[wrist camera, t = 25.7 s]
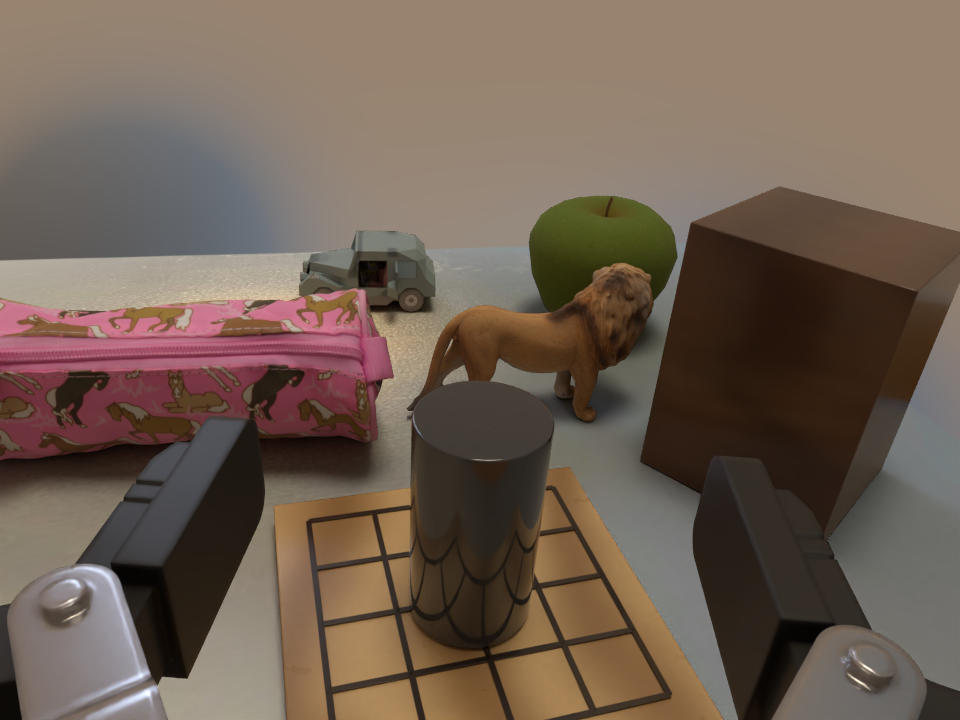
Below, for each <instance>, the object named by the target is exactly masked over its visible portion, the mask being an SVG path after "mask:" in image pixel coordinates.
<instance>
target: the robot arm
mask: <svg viewBox="0 0 960 720" xmlns="http://www.w3.org/2000/svg"><path fill="white" fill-rule="evenodd" d="M264 498H265V486H264V477H263V469H262V460H261V452H260V443H259V435H258V428H257V424H256V422H255V420H254V419H249V418H236V417H223V416H209V417H208V418H207V419H206V420H205V421H204V423H203V424H202V426H201V427H200V429H199V430H198V432H197V433H196V435H195V436H194V438H193V439H192V441H191V442H190V443H188V442H175V443H174V444H172V445H171V446H169V447H168V448H166V449H165V450H163V451H162V452H161V453H159V454H158V455H156V456H155V457H153V458H152V459H151V460H150V461H149V463H148V464H147V466H146V467H145V468H144V470H143V471H142V472H141V474H140V475H139V477H138V478H137V479H136V484H133V485H132V486H131V488H130V489H129V490H128V492H127V493H126V495H125V496H124V500H123V502H120V503H119V504H118V506H117V507H116V508H115V510H114V511H113V513H112V514H111V515H110V517H109V518H108V519H107V521H106V522H105V524H104V525H103V526H102V528H101V529H100V530H99V532H98V533H97V535H96V536H95V537H94V539H93V540H92V542H91V543H90V544H89V546H88V547H87V548H86V550H85V551H84V553H83V554H82V555H81V557H80V558H79V559H78V561H77V562H76V564H75V565H70V566H65V567H62V568H58V569H56V570H53V571H51V572H48V573H46V574H44V575H42V576H40V577H39V578H37V579H36V580H34V581H32V582H31V583H30V584H29V585H27V586H26V587H25V588H24V589H23V590H22V591H21V592H20V593H19V594H18V595H17V596H16V597H15V599H14V600H13V602H12V603H11V604H7V605H2V606H0V720H168V718H167V715H166V712H165V709H164V706H163V703H162V700H161V697H160V694H159V691H158V688H157V685H158V683H159V681H160V679H161V677H173V678H185V679H187V678H188V676H189V674H190V672H191V670H192V668H193V665H194V663H195V661H196V659H197V657H198V654H199V652H200V650H201V648H202V646H203V644H204V641H205V639H206V637H207V635H208V633H209V631H210V628H211V626H212V624H213V622H214V620H215V617H216V615H217V613H218V611H219V609H220V607H221V604H222V602H223V600H224V598H225V596H226V594H227V591H228V589H229V587H230V585H231V583H232V580H233V578H234V576H235V574H236V572H237V570H238V567H239V565H240V563H241V561H242V559H243V557H244V554H245V552H246V550H247V548H248V546H249V543H250V541H251V539H252V537H253V535H254V533H255V530H256V528H257V526H258V524H259V521H260V519H261V515H262V511H263V506H264ZM824 536H825V535H824V533H823V531H822V529H821V527H820V525H819V523H818V521H817V519H816V517H815V515H814V513H813V512H812V511H811V510H810V509H809V508H808V507H807V506H806V505H805V504H804V503H803V502H802V501H801V500H800V499H799V498H798V497H797V496H796V495H795V494H793V493H792V492H791V491H790V490H779V489H775V488H774V486H773V484H772V482H771V480H770V477H769V475H768V473H767V471H766V469H765V466H764V464H763V462H762V461H761V460H760V459H756V458H743V457H730V456H717V455H716V456H714V457H713V458H712V460H711V462H710V465H709V468H708V472H707V476H706V480H705V483H704V487H703V491H702V495H701V499H700V502H699V506H698V510H697V514H696V517H695V522H694V527H693V553H694V558H695V562H696V566H697V570H698V573H699V577H700V581H701V584H702V588H703V592H704V595H705V599H706V603H707V606H708V610H709V614H710V617H711V621H712V625H713V628H714V632H715V636H716V639H717V643H718V647H719V650H720V654H721V658H722V661H723V665H724V669H725V672H726V676H727V680H728V683H729V687H730V691H731V694H732V698H733V702H734V705H735V709H736V713H737V716H738V720H960V691H957V690H954V689H951V688H948V687H945V686H942V685H939V684H937V683H934V682H932V681H929V680H927V679H925V678H924V676H923V674H922V672H921V670H920V668H919V667H918V665H917V664H916V662H915V661H914V660H913V659H912V658H911V656H910V655H909V654H908V653H907V652H906V651H904V650H903V649H902V648H901V647H900V646H899V645H897V644H896V643H894V642H893V641H892V640H890V639H888V638H887V637H885V636H883V635H881V634H879V633H877V632H875V631H872V629H871V627H870V625H869V623H868V621H867V619H866V617H865V615H864V613H863V611H862V609H861V607H860V605H859V603H858V601H857V599H856V597H855V595H854V593H853V591H852V589H851V587H850V585H849V583H848V581H847V579H846V577H845V575H844V573H843V571H842V569H841V567H840V565H839V563H838V561H837V560H834V553H833V551H832V549H831V547H830V545H829V543H828V541H827V540H825V539H824Z"/></svg>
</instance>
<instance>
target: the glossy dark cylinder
mask: <svg viewBox="0 0 960 720" xmlns="http://www.w3.org/2000/svg"><path fill="white" fill-rule="evenodd" d="M553 433H554V420H553V417H552V415H551V413H550V411H549V409H548V408H547V407H546V406H545V404H543V403H542V402H541V401H540V400H539V399H538V398H536V397H535V396H533V395H532V394H530V393H528V392H526V391H524V390H522V389H519V388H516V387H514V386H510V385H507V384H502V383H497V382H490V381H463V382H456V383H452V384H447V385H444V386H441V387H439V388H436V389H434V390H432V391H430V392H429V393H427V394H426V395H424V396H423V397H422V398H421V399H420V400H419V401H418V403H417V404H416V406H415V408H414V410H413V413H412V426H411V477H410V528H409V579H408V603H409V609H410V611H411V614H412V616H413V618H414V620H415V621H416V623H417V624H418V625H419V627H420V628H421V629H422V630H423V631H424V632H425V633H427V634H428V635H429V636H431V637H432V638H434V639H436V640H437V641H440V642H442V643H444V644H447V645H450V646H454V647H459V648H469V649H473V648H484V647H489V646H493V645H496V644H498V643H501V642H503V641H505V640H507V639H508V638H510V637H511V636H512V635H514V634H515V633H516V632H517V631H518V630H519V629H520V628H521V626H522V625H523V624H524V622H525V620H526V618H527V616H528V613H529V608H530V601H531V594H532V586H533V579H534V572H535V565H536V557H537V550H538V543H539V535H540V528H541V521H542V513H543V506H544V499H545V491H546V484H547V477H548V469H549V462H550V455H551V447H552V440H553Z"/></svg>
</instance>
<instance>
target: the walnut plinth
mask: <svg viewBox="0 0 960 720" xmlns="http://www.w3.org/2000/svg"><path fill="white" fill-rule="evenodd" d="M959 283H960V232H958V231H954V230H950V229H946V228H942V227H938V226H934V225H930V224H926V223H922V222H918V221H914V220H910V219H906V218H902V217H898V216H894V215H890V214H886V213H883V212H879V211H875V210H870V209H867V208H863V207H859V206H855V205H850V204H847V203H843V202H839V201H835V200H831V199H827V198H823V197H819V196H815V195H811V194H807V193H803V192H799V191H795V190H791V189H787V188H783V187H777V188H774V189H772V190H770V191H767V192H765V193H762V194H760V195H757V196H755V197H752V198H750V199H748V200H745V201H742V202H740V203H738V204H735V205H733V206H731V207H728V208H725V209H723V210H720V211H718V212H716V213H713V214H711V215H708V216H706V217H703V218H701V219H698V220H696V221H693V222H692V223H691V225H690V229H689V234H688V239H687V243H686V248H685V253H684V257H683V262H682V267H681V271H680V276H679V281H678V285H677V290H676V295H675V300H674V304H673V309H672V314H671V318H670V323H669V328H668V332H667V337H666V342H665V347H664V351H663V356H662V361H661V365H660V370H659V375H658V379H657V384H656V389H655V394H654V398H653V403H652V408H651V412H650V417H649V422H648V426H647V431H646V436H645V441H644V445H643V450H642V455H641V459H640V460H641V461H642V462H644V463H646V464H648V465H649V466H651V467H653V468H655V469H657V470H659V471H661V472H663V473H664V474H666V475H668V476H670V477H672V478H674V479H676V480H678V481H679V482H681V483H683V484H685V485H687V486H689V487H691V488H692V489H694V490H696V491H698V492H700V493H702V491H703V487H704V483H705V480H706V476H707V472H708V468H709V465H710V462H711V460H712V458H713V457H714V456H716V455H717V456H730V457H743V458H756V459H760V460H761V461H762V462H763V464H764V466H765V469H766V471H767V473H768V475H769V477H770V480H771V482H772V484H773V486H774V488H775V489H779V490H790V491H791V492H792V493H793V494H795V495H796V496H797V497H798V498H799V499H800V500H801V501H802V502H803V503H804V504H805V505H806V506H807V507H808V508H809V509H810V510H811V511H812V512H813V513H814V515H815V517H816V519H817V521H818V523H819V525H820V527H821V529H822V531H823V533H824V535H825V536H824V539H825V540H827V539H828V537H829V536H830V535H831V534H832V532H833V531H834V530H835V528H836V527H837V526H838V524H839V523H840V522H841V521H842V519H843V518H844V517H845V515H846V514H847V513H848V511H849V510H850V509H851V508H852V506H853V505H854V504H855V502H856V501H857V500H858V498H859V497H860V496H861V495H862V493H863V492H864V491H865V489H866V488H867V487H868V485H869V484H870V483H871V482H872V480H873V479H874V478H875V476H876V475H877V474H878V472H879V471H880V470H881V468H882V467H883V464H884V462H885V460H886V457H887V455H888V452H889V450H890V448H891V445H892V443H893V441H894V438H895V436H896V433H897V431H898V429H899V426H900V424H901V421H902V419H903V417H904V414H905V412H906V410H907V407H908V405H909V402H910V400H911V398H912V395H913V392H914V390H915V388H916V386H917V383H918V381H919V379H920V376H921V374H922V371H923V369H924V367H925V364H926V362H927V359H928V357H929V355H930V352H931V350H932V347H933V345H934V343H935V340H936V338H937V336H938V333H939V331H940V328H941V326H942V324H943V321H944V319H945V316H946V314H947V312H948V309H949V307H950V305H951V302H952V300H953V297H954V295H955V293H956V290H957V288H958V285H959Z"/></svg>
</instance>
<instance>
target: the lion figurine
mask: <svg viewBox="0 0 960 720" xmlns="http://www.w3.org/2000/svg"><path fill="white" fill-rule="evenodd" d="M650 284H651V276H650V275H649V274H645V272H644V271H642V270H641V269H640V268H635V267H633V266H631V265H628V264H626V263H617V264H613V265H612V266H611V267H603V268H602V269H601V270H597V271H595V272H594V273H593V283H592V284H590V285H589V286H588V287H586V288H585V289H584V290H583V291H581V292H579V293H577V294H576V295H575V297H574V300H573V301H571V302H570V303H567V304H565V305H564V306H563V307H562V308H560V309H559V310H557V311H554V312H551V313H537V314H533V313H517V312H512V311H508V310H505V309H502V308H499V307H496V306H488V305H481V306H476V307H473V308H469V309H467V310H465V311H463V312H461V313H459V314H458V315H457V316H455V317H454V318H453V319H452V320H451V321H450V322H449V323H448V324H447V326H446V327H445V329H444V330H443V332H442V334H441V335H440V337H439V339H438V342H437V344H436V347H435V351H434V354H433V357H432V361H431V365H430V369H429V373H428V377H427V380H426V383H425V386H424V388H423V390H422V392H421V393H420V395H419V396H417V397H416V398H415V400H414V401H413V403H412V404H411V405H410V406H409V407H408V408H407V410H408V411H413V410H414V408H415V406H416V404H417V403H418V401H419V400H420V399H421V398H422V397H423V396H424V395H426V394H427V393H429V392H430V391H432V390H434V389H436V388H439V387H441V386H444V385H443V384H442V382H443V380H444V379H445V377H446V376H447V375H448V374H449V373H451V372H452V371H454V370H455V369H457V368H459V367H461V366H463V365H465V368H466V371H467V374H468V378H469V381H490V380H491V378H492V377H493V375H494V373H495V369H496V364H497V361H498V359H499V358H500V359H501V360H503V361H505V362H506V363H508V364H509V365H511V366H512V367H514V368H517V369H519V370H522V371H526V372H531V373H553V372H557V376H556V381H555V385H554V389H555V393H556V394H557V396H559V397H560V398H572V397H574V399H573V403H572V404H573V407H574V410H575V413H576V416H577V417H578V418H580V419H582V420H584V421H592V420H594V419H595V417H596V411H595V410H594V409H593V407H588V403H589V401H590V399H591V396H592V393H593V391H594V388H595V385H596V382H597V377H598V371H599V370H604V369H606V368H607V367H609V366H610V367H611V366H615V365H617V364H618V363H619V362H620V361H621V360H624V359H625V358H626V357H627V356H628V355H629V353H630V351H631V349H632V348H633V346H634V345H635V343H636V341H637V338H638V337H639V336H640V335H641V333H642V331H643V329H644V327H645V325H646V321H647V318H648V317H649V315H650V314H651V312H652V308H653V305H654V302H653V297H652V292H651V288H650ZM451 339H453V342H452V345H451V346H450V348H449V350H448V351H447V353H446V350H447V348H448V346H449V343H450V341H451ZM445 353H446V355H445ZM444 355H445V356H444ZM571 376H572V377H573V379H574V381H575V387H574V386H572V385H570V381H571Z"/></svg>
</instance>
